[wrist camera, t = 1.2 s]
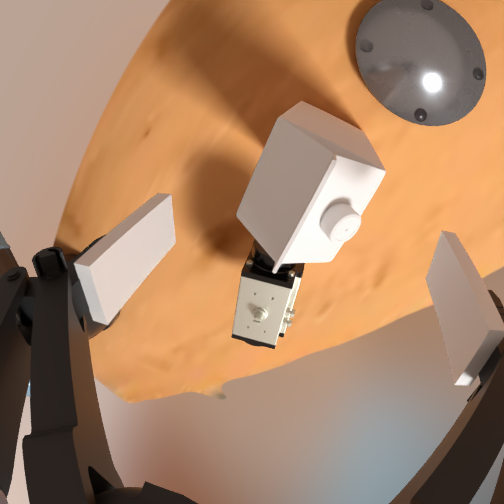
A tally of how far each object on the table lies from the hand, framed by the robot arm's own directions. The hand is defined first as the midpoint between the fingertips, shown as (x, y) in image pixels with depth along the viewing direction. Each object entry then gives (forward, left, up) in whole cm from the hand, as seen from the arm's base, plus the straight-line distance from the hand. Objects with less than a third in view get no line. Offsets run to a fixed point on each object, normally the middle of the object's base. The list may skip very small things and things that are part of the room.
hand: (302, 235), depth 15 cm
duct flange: (+10, +11, -20) cm, 25 cm away
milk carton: (0, 0, -21) cm, 21 cm away
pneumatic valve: (-3, -14, -21) cm, 25 cm away
